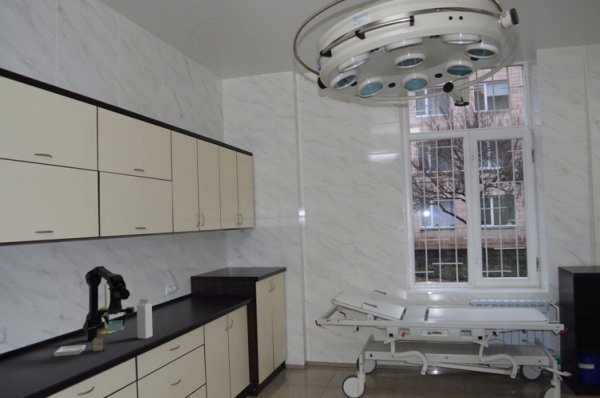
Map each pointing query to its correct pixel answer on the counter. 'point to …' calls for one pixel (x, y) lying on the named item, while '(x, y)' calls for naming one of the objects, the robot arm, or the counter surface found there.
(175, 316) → the counter surface
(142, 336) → the milk
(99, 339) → the beige jar
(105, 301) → the candle
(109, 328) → the light blue box
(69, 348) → the dish
